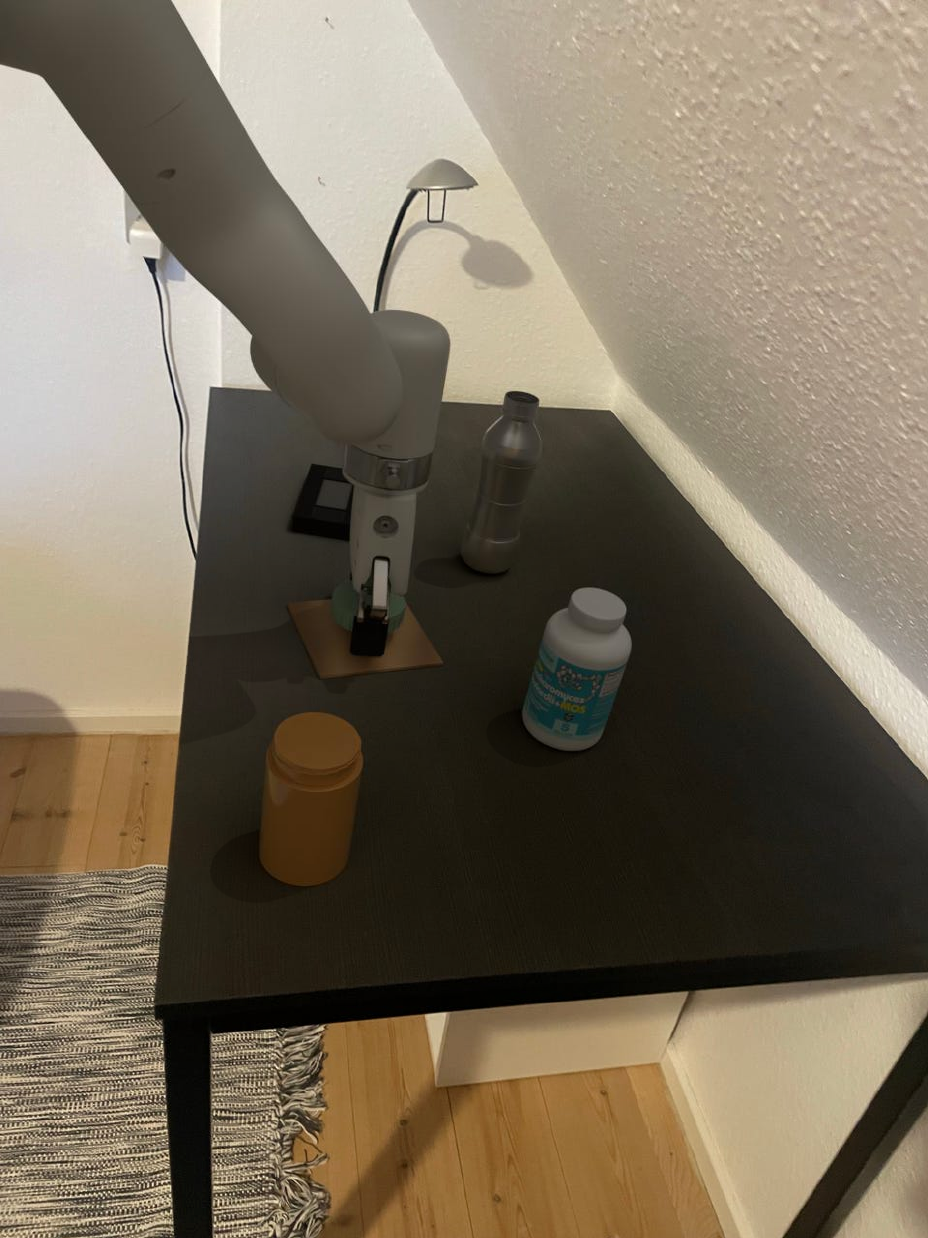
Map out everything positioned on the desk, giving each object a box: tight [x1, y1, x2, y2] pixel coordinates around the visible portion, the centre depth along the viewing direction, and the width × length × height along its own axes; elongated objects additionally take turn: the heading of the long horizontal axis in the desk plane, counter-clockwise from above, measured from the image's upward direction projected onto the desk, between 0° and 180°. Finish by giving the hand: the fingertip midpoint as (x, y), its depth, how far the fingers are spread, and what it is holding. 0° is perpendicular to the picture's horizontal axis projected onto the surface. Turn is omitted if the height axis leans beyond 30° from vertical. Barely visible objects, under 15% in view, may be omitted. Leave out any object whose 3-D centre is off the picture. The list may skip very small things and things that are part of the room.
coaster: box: [286, 598, 444, 680], centre depth 91 cm, size 12×12×1 cm
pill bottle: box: [521, 587, 633, 752], centre depth 81 cm, size 8×7×14 cm
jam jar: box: [258, 711, 364, 887], centre depth 65 cm, size 6×6×11 cm
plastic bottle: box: [460, 390, 543, 574], centre depth 102 cm, size 6×7×20 cm
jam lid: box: [330, 579, 407, 634], centre depth 90 cm, size 7×7×2 cm
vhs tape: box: [290, 463, 354, 541], centre depth 111 cm, size 8×14×2 cm, turn 178°
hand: (364, 628), depth 91 cm, fingers closed on jam lid, 6 cm apart
